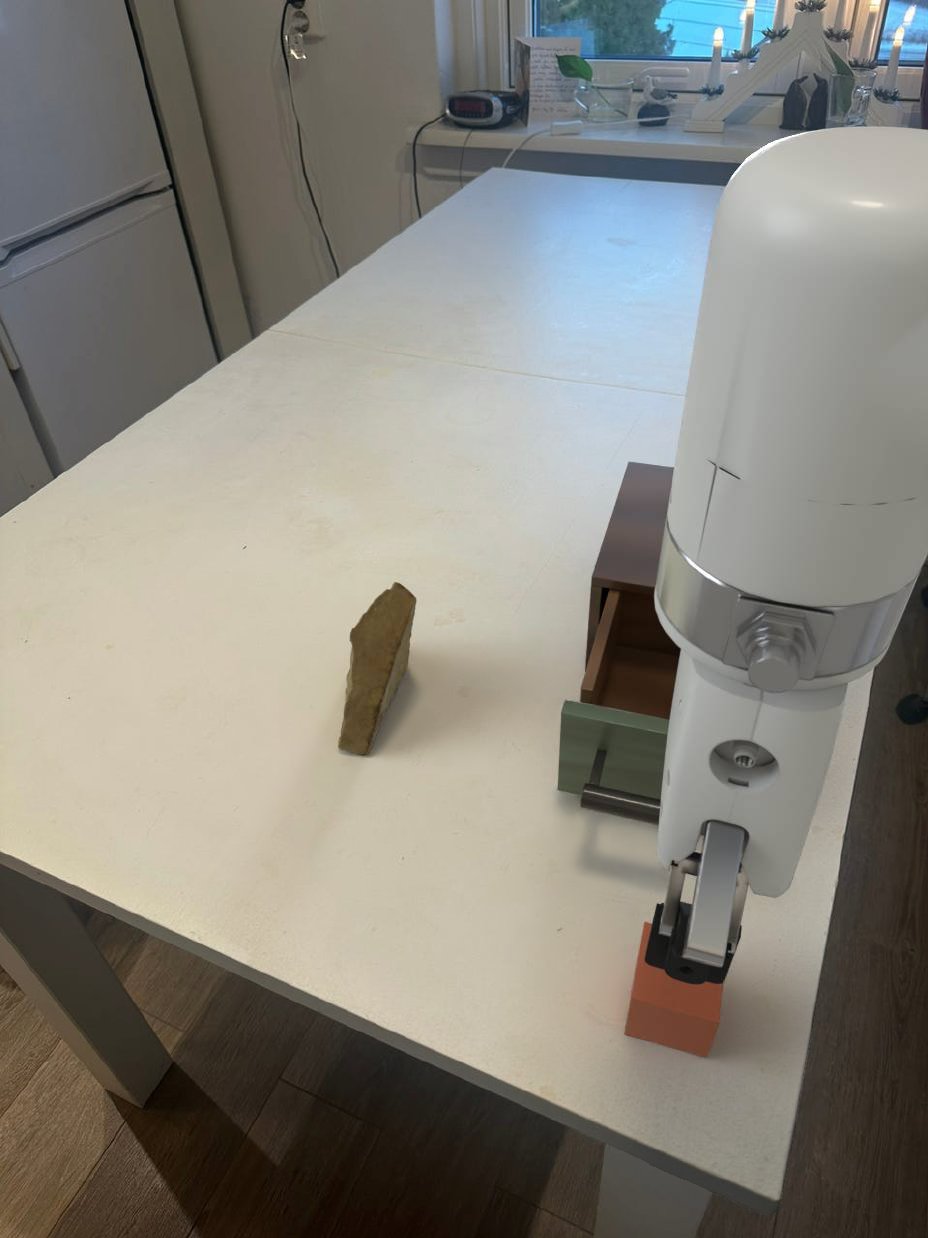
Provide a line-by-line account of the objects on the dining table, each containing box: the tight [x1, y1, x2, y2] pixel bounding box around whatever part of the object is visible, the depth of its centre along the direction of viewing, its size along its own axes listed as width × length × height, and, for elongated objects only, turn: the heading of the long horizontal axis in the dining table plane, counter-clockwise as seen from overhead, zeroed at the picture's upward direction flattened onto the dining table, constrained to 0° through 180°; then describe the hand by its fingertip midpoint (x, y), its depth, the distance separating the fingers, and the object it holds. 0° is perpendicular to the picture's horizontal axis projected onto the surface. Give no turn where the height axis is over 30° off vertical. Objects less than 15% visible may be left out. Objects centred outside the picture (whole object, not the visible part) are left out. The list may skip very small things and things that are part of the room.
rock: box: [337, 581, 417, 755], centre depth 64 cm, size 11×9×10 cm
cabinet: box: [584, 460, 674, 673], centre depth 69 cm, size 16×12×10 cm
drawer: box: [557, 588, 681, 827], centre depth 58 cm, size 19×10×8 cm, turn 162°
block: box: [624, 921, 724, 1059], centre depth 47 cm, size 4×4×4 cm
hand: (697, 868), depth 39 cm, fingers open, 9 cm apart
